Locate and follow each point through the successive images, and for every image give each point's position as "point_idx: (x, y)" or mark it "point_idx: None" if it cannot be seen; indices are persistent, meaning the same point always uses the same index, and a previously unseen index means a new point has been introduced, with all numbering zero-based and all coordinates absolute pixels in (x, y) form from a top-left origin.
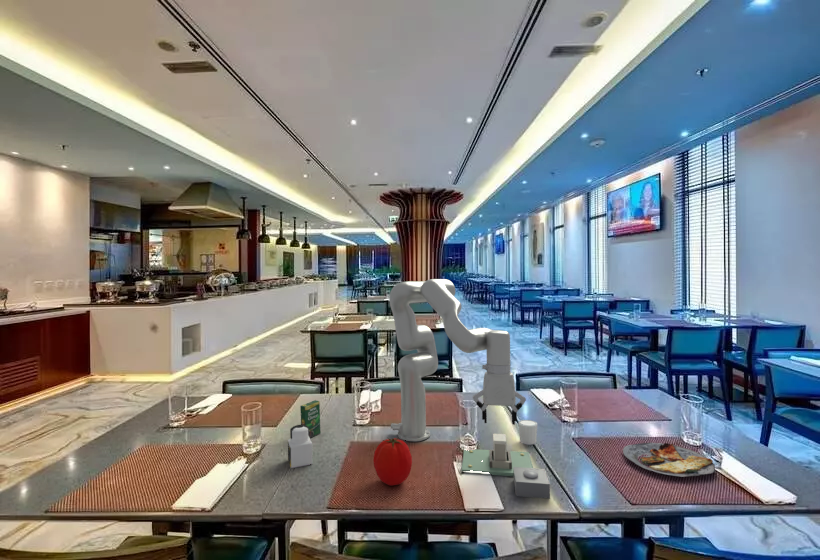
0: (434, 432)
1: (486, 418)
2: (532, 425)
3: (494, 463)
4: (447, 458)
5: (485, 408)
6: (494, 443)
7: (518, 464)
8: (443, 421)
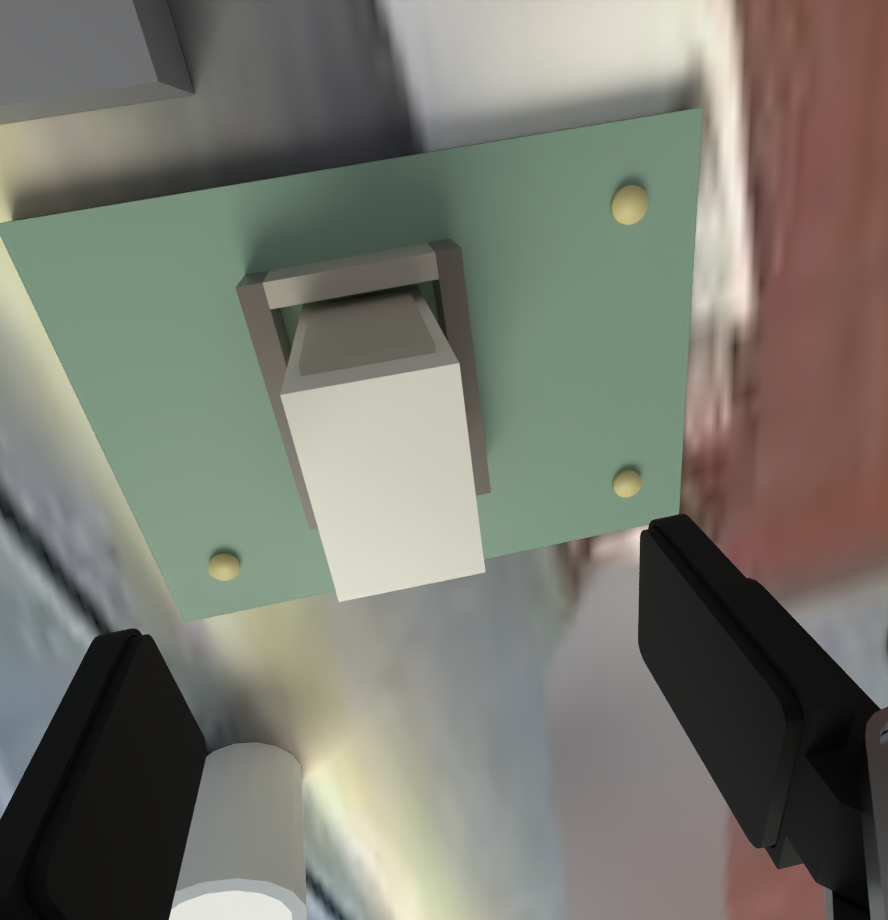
0: None
1: (689, 581)
2: (173, 903)
3: (410, 252)
4: (794, 355)
5: (878, 794)
6: (439, 352)
7: (210, 387)
8: None
